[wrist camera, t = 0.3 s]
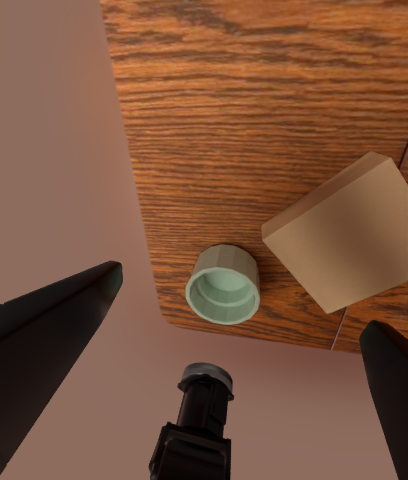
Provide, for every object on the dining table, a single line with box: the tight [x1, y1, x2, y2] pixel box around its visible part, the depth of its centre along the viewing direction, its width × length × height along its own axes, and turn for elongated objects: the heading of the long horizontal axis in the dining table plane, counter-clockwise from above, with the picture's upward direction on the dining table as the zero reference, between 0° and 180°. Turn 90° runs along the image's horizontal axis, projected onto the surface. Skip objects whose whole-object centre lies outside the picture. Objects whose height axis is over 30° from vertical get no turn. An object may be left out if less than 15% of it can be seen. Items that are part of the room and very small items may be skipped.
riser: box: [261, 151, 408, 314], centre depth 19 cm, size 10×10×3 cm
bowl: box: [186, 244, 260, 325], centre depth 23 cm, size 7×7×4 cm
